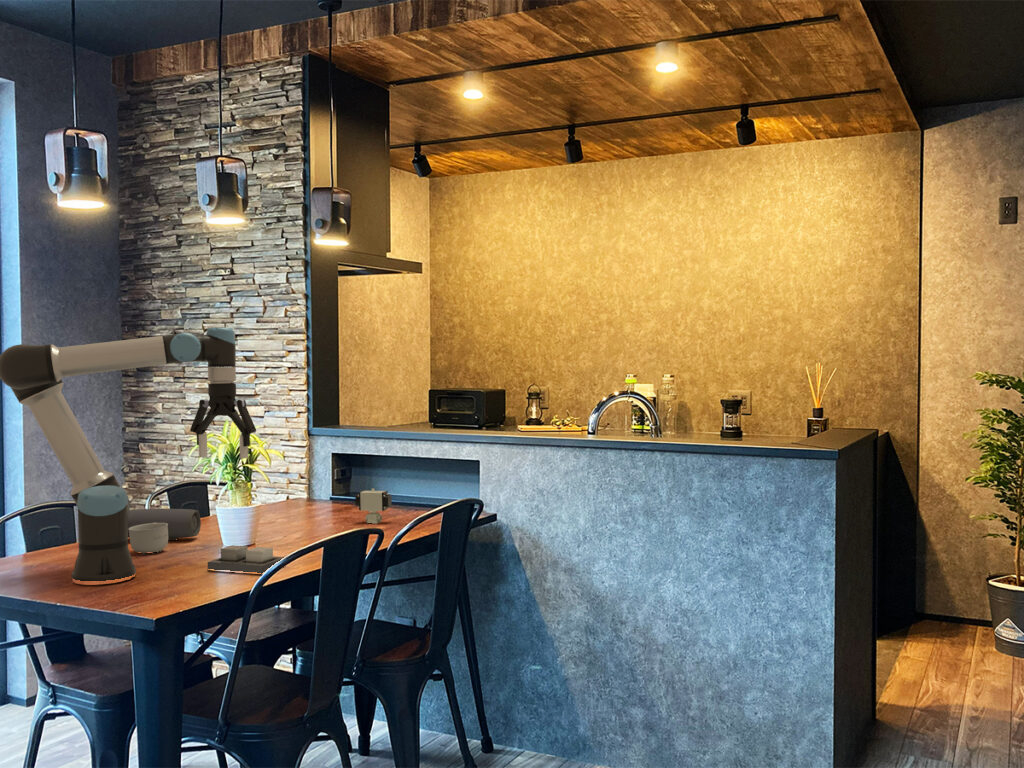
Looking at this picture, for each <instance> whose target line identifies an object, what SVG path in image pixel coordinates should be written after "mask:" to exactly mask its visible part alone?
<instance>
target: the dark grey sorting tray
mask: <svg viewBox="0 0 1024 768" xmlns="http://www.w3.org/2000/svg"><path fill="white" fill-rule="evenodd" d="M246 550H249V548H248V546H247V545H232V544H231V545H229V546H225V547H223V548H220V557H218V558H216V559H213V560H210V561H207V570H208V569H214V570H230V571H243V572H257V573H261V574H262V573H263V572H265V571H266V570H267V569H268V568H270V567H271V566H272V565H274V564H275V563H276V562H278V561H280V560H281V559H282V558H284V557H285V556H275V555H273V561H270V562H267V563H265V564H257V563H246Z"/></svg>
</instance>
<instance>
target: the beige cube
mask: <svg viewBox="0 0 1024 768" xmlns="http://www.w3.org/2000/svg"><path fill="white" fill-rule="evenodd" d="M273 551H274V549H273V547H265V546H264V547H263V546H261V547H260V546H256V547H253V548H250V549H249V548H248V550H246V563H257V564H265V563H267V562H270V561H273V556H274V554H273V553H274V552H273Z"/></svg>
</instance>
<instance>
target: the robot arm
mask: <svg viewBox="0 0 1024 768" xmlns="http://www.w3.org/2000/svg"><path fill="white" fill-rule="evenodd" d="M236 359H237V358H236V333H235V330H234V329H233V328H232V327H209V328H208V329H207V330H206V333H205V334H194V333H190V332H179V333H175V334H165V335H158V336H156V335H155V336H150V337H149V336H148V337H142V338H141V337H139V338H131V339H125V340H124V339H122V340H114V341H105V342H97V343H87V344H79V345H67V346H60V347H59V346H56V345H54V344H53V343H52V344H43V345H42V344H40V345H35V344H23V343H21V344H15V345H12V346H10V347H8V348H6V349H5V350H4V351H3V352H1V354H0V380H1V381H2V382H3V384H4V385H6V386H7V387H9V388H10V389H11V391H12V392H13V394H14V396H15V398H16V400H17V401H18V403H19V404H21V405H25V406H27V407H28V408H29V410H30V412H31V413H32V415H33V417H34V419H35V420H36V422H37V424H38V425H39V428H40V429H41V431H42V432H43V435H44V436H45V439H46V440H47V442H48V443H49V445H50V447H51V449H52V451H53V452H54V455H55V456H56V458H57V459H58V461H59V463H60V465H61V467H62V468H63V471H64V472H65V474H66V476H67V477H68V479H69V481H70V483H71V484H72V489H71V492H70V496H71V497H72V499H73V501H74V503H75V504H76V507H77V523H78V524H77V525H78V529H77V530H78V532H77V533H78V554H77V556H76V560H75V562H74V563H75V564H74V568H73V570H72V572H71V579H72V578H73V579H75V580H80V581H106V580H115V579H121V578H125V577H129V576H132V575H134V574H135V573H136V572H137V569H136V565H135V564H134V562H133V558H132V555H131V552H130V549H129V537H128V520H127V516H128V513H129V510H131V509H130V506H131V504H130V498H129V496H128V493H127V491H126V489H125V488H124V487H121V486H120V483H119V481H118V480H117V477H115V475H114V473H113V472H110V471H108V470H105V469H104V467H103V466H102V464H101V462H100V460H99V458H98V456H97V454H96V453H95V451H94V449H93V448H92V445H91V444H90V442H89V440H88V439H87V438H88V437H86V436H87V435H86V434H85V433H84V431H83V429H82V427H81V426H80V423H79V422H78V420H77V418H76V417H75V415H74V413H73V411H72V408H70V405H69V404H68V402H67V401H66V398H65V396H64V395H63V392H62V389H63V386H64V382H63V380H62V378H65V377H66V378H68V377H74V376H83V375H90V374H91V375H92V374H98V373H105V372H107V373H108V372H113V371H114V372H115V371H120V370H121V371H122V370H128V369H136V368H137V369H138V368H145V367H152V366H153V367H154V366H163V365H171V364H179V363H188V362H189V363H191V362H192V363H193V362H195V363H196V362H207V381H208V382H209V383H208V384H207V389H208V390H207V394H208V395H207V396H208V397H209V400H208V399H207V398H205V399H200V400H199V405H198V409H197V411H196V414H195V417H194V419H193V422H192V423H191V426H190V429H189V430H190V432H191V433H194V434H196V445H197V446H198V458H200V459H201V458H207V457H208V433H206V430H208V428H209V427H210V425H211V424H212V423H213V421H214V420H215V418H216V417H217V416H223V417H224V416H225V417H228V418H230V419H231V421H232V422H233V423H234V425H235V427H236V429H238V431H239V432H240V433H241V434H240V435H239V459H241V460H242V459H248V458H249V448H248V447H250V445H251V434H253V433H256V432H257V429H256V426H255V423H254V421H253V419H252V417H251V415H250V412H249V410H248V408H247V403H246V399H244V398H243V399H237V400H236V395H237V384H236V383H235V382H236V380H237V375H236V374H237V373H236V371H237V370H236V369H237V368H236V364H237V363H236ZM209 408H210V409H209ZM236 408H237V409H236ZM208 409H209V410H208ZM136 574H137V573H136Z"/></svg>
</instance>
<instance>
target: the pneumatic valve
mask: <svg viewBox="0 0 1024 768" xmlns="http://www.w3.org/2000/svg"><path fill="white" fill-rule="evenodd" d="M392 500H393V499H392V495H391V494H389V490H376V489H375V488H371V490H362V491H359V492H358V493H356V495H355V497H354V502H355V503H354V504H355V506H356V507H357V508H358V511H362V512H363V511H367V512H368V513H367V514H366V515H365V517H364V520H365V522H366V524H368V523H372V524H371V525H377V524H379V523H380V522H382V520H383V518H382V517H383V515H382V514H381V513H380V512H385V511H386V510H388V509H389V508H391V506H392Z"/></svg>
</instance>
